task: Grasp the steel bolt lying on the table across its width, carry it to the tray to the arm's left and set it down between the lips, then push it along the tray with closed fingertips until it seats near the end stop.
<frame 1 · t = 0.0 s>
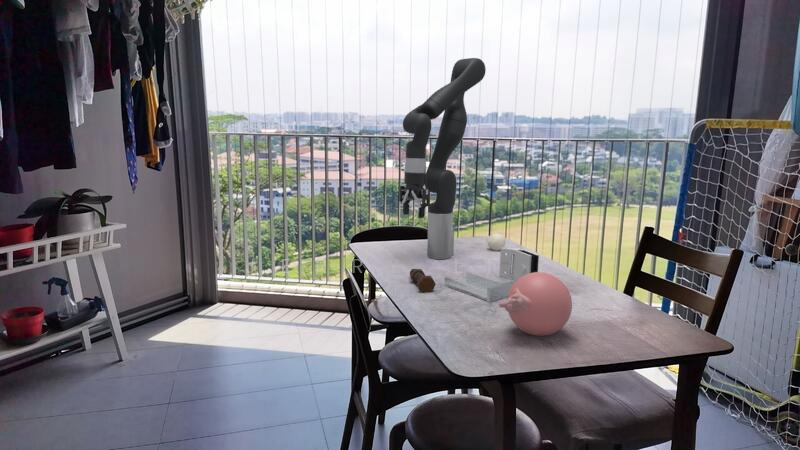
hand: (413, 216, 190), 17 cm above the table, tool pointing down, fingers open, 8 cm apart
tray: (477, 289, 164), on the table
balloon: (529, 335, 130), on the table
white ball: (495, 250, 212), on the table
bolt: (420, 286, 168), on the table
hinge: (518, 281, 173), on the table
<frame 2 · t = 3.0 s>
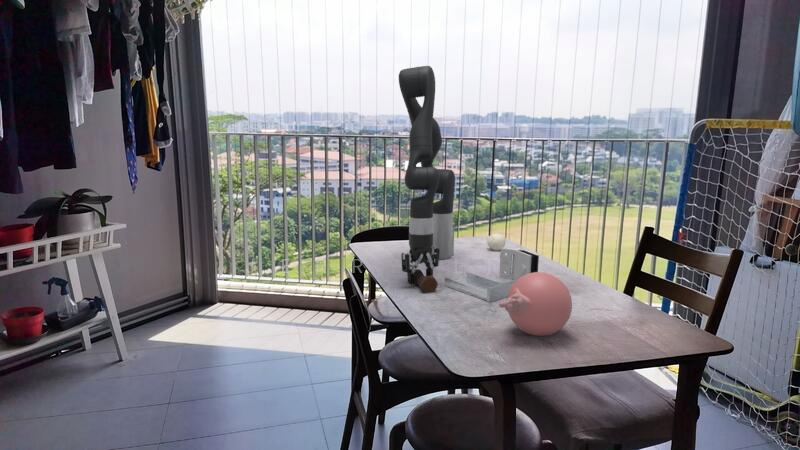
hand: (420, 282, 168), 1 cm above the table, tool pointing down, fingers open, 6 cm apart
bolt: (420, 286, 167), on the table, touching gripper
everything else where it was.
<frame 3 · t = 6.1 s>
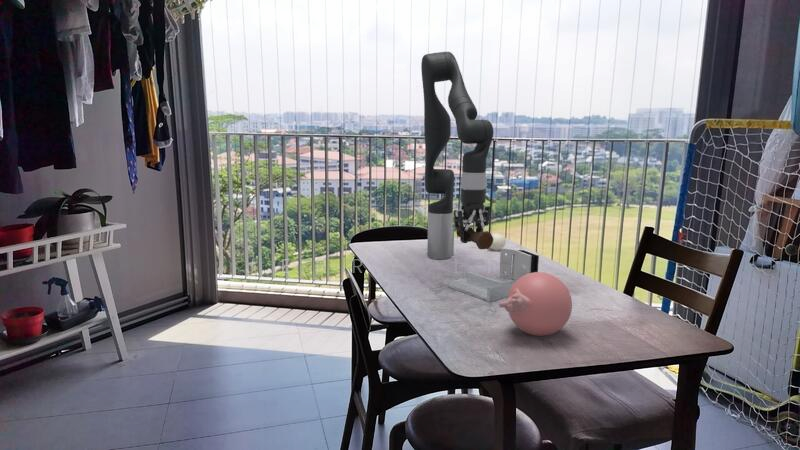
hand: (471, 241, 163), 15 cm above the table, tool pointing down, fingers closed on bolt, 5 cm apart
bolt: (472, 244, 163), point 14 cm above the table, touching gripper
everything else where it was.
when the fingers open (3 cm above the table, at t = 8.7 s): bolt drops 1 cm, resting on tray.
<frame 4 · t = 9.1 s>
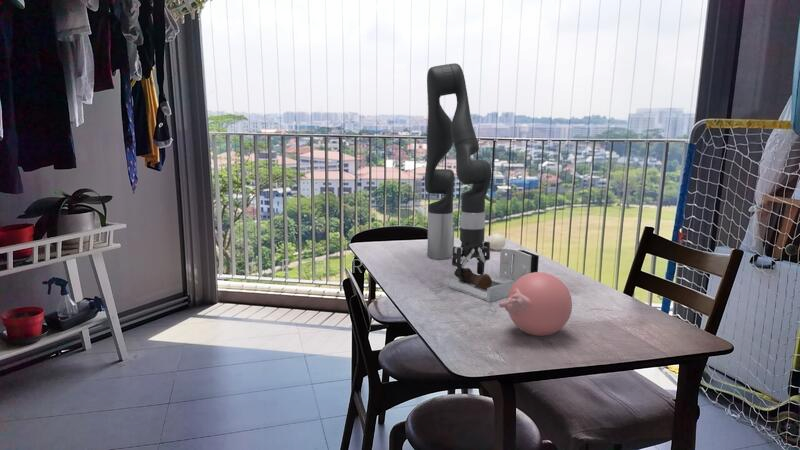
hand: (470, 276, 165), 3 cm above the table, tool pointing down, fingers open, 8 cm apart
bolt: (470, 285, 166), point 1 cm above the table, touching tray
everything else where it was.
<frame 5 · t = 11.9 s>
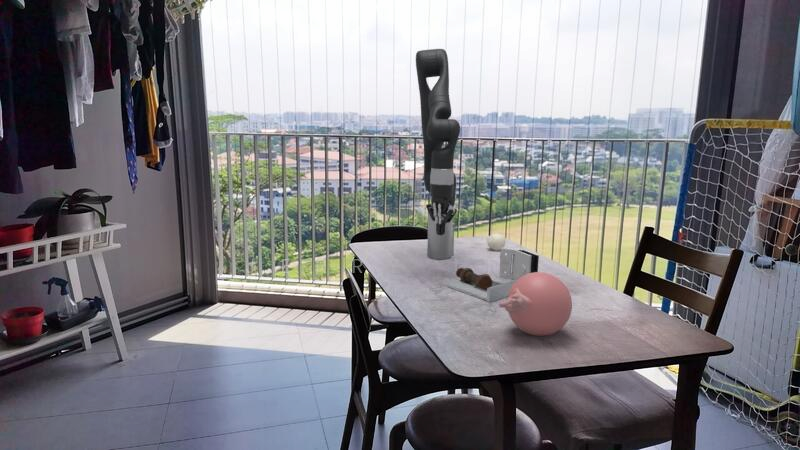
hand: (440, 234, 174), 14 cm above the table, tool pointing down, fingers closed
nothing on the table moved.
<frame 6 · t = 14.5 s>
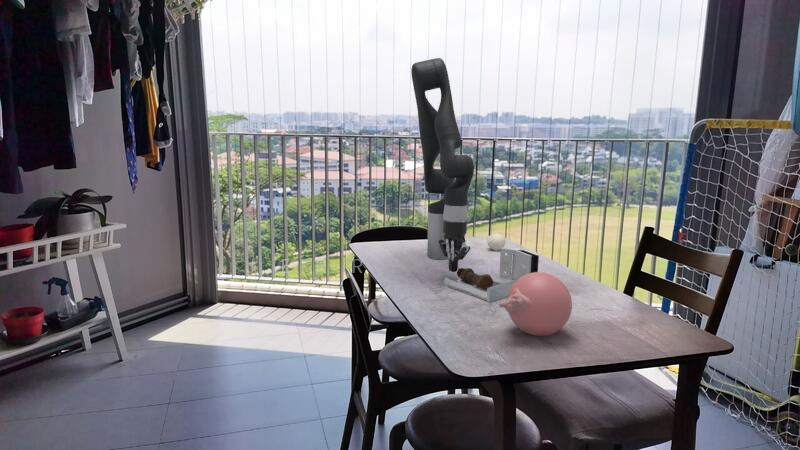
hand: (453, 271, 171), 3 cm above the table, tool pointing down, fingers closed
bolt: (472, 285, 165), point 1 cm above the table, touching tray, gripper
everything else where it was.
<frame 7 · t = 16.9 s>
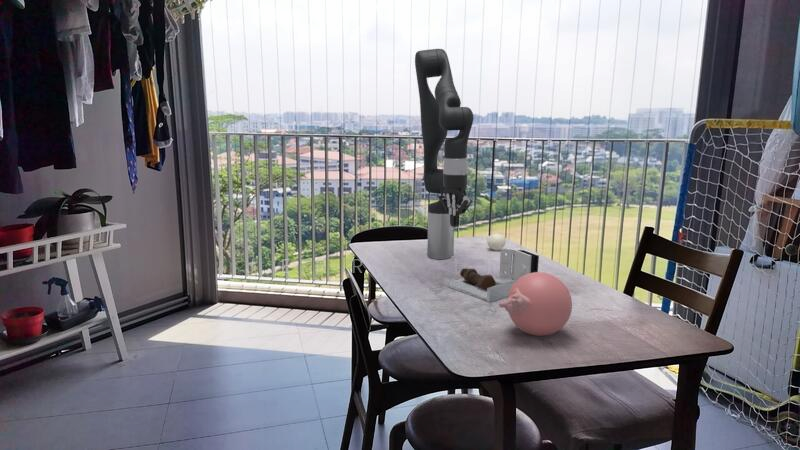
hand: (454, 226, 169), 18 cm above the table, tool pointing down, fingers closed
bolt: (475, 286, 165), point 1 cm above the table, touching tray
everything else where it was.
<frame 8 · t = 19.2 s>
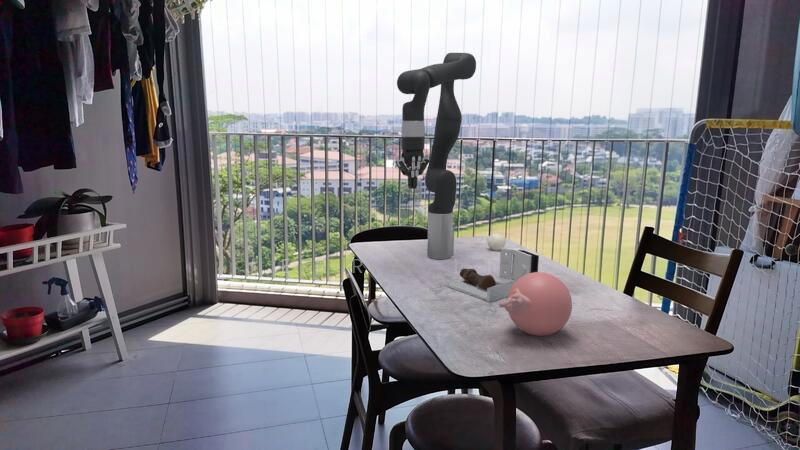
hand: (412, 188, 175), 29 cm above the table, tool pointing down, fingers closed
nothing on the table moved.
at the end: bolt inside the target area on the tray (1.4 cm from its centre), point 0.6 cm above the tray's base; the gripper is holding nothing; bolt moved 17.2 cm from its start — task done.
